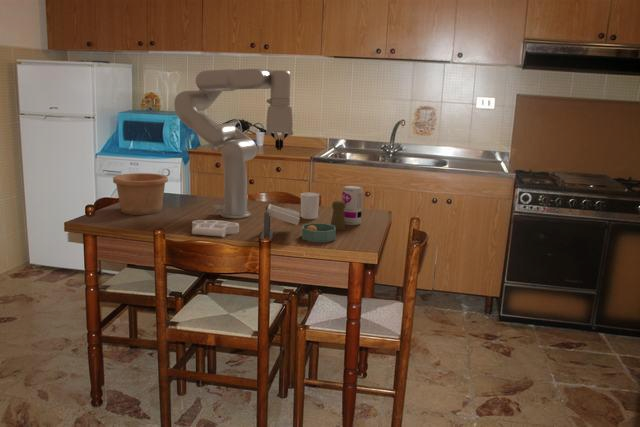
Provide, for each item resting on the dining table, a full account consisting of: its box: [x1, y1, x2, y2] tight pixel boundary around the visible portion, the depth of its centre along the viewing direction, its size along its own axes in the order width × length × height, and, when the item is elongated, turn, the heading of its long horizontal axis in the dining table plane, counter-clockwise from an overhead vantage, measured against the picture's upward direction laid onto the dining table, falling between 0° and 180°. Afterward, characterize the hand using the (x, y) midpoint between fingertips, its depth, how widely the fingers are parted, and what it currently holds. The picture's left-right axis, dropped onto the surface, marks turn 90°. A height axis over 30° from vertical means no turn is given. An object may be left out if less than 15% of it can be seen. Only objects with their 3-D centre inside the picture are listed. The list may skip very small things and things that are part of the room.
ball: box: [307, 225, 317, 231], centre depth 216 cm, size 4×4×4 cm
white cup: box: [300, 192, 320, 220], centre depth 246 cm, size 8×8×10 cm
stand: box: [259, 206, 274, 242], centre depth 215 cm, size 4×14×10 cm, turn 2°
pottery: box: [112, 172, 169, 216], centre depth 247 cm, size 22×22×14 cm
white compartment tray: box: [191, 219, 240, 238], centre depth 219 cm, size 3×18×15 cm
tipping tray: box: [267, 203, 301, 226], centre depth 219 cm, size 12×18×2 cm, turn 2°
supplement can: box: [341, 185, 364, 226], centre depth 239 cm, size 8×8×15 cm
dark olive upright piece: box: [330, 200, 346, 231], centre depth 230 cm, size 6×6×11 cm
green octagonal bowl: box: [301, 222, 337, 243], centre depth 216 cm, size 12×12×4 cm
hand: (279, 149), depth 233 cm, fingers closed
